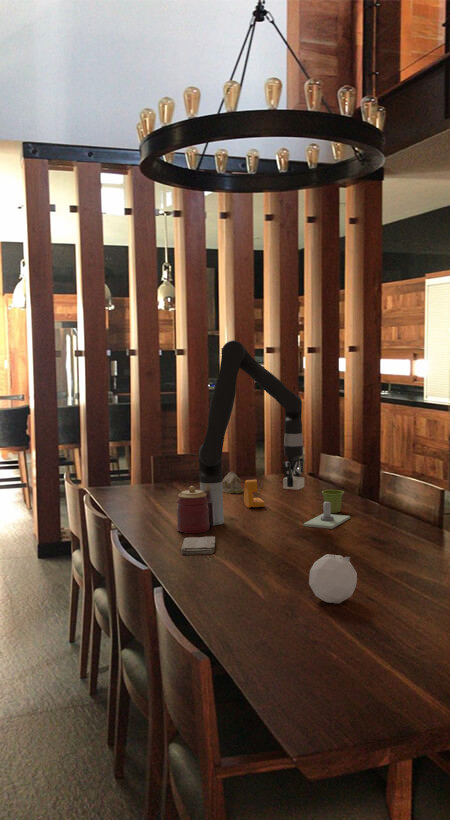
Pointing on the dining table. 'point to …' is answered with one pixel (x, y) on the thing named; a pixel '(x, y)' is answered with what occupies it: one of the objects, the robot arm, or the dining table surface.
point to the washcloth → (198, 545)
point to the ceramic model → (232, 483)
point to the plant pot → (333, 499)
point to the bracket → (251, 494)
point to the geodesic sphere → (333, 578)
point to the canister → (192, 511)
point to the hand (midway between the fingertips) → (293, 485)
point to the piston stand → (326, 519)
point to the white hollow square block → (294, 483)
